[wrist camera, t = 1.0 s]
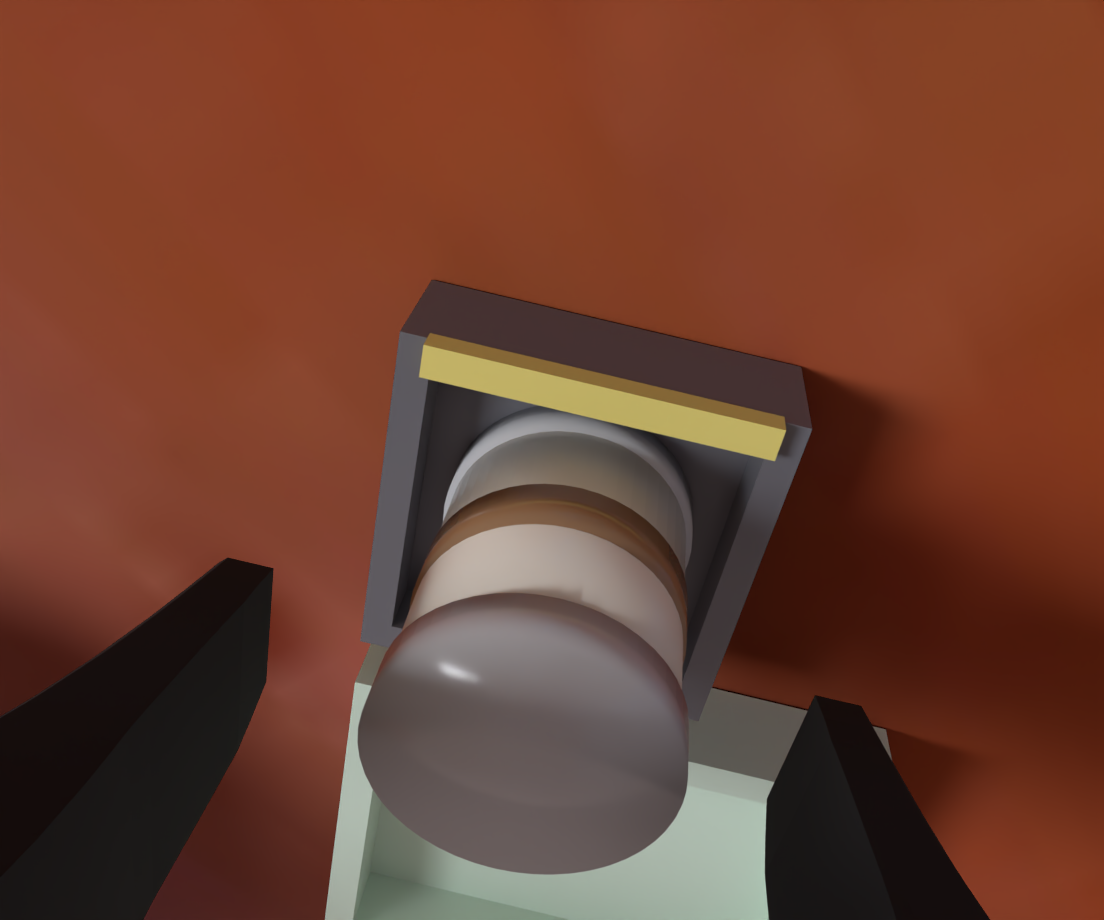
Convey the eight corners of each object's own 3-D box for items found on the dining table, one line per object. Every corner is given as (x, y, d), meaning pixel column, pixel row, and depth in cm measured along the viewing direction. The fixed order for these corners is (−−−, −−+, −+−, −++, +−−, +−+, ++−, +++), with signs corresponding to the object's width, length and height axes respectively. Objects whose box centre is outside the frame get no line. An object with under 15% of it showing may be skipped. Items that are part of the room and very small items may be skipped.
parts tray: (885, 728, 20) (902, 812, 18) (761, 962, 24) (765, 1047, 22) (384, 610, 20) (355, 681, 18) (348, 863, 24) (321, 941, 22)
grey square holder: (801, 365, 16) (814, 437, 14) (699, 644, 19) (698, 732, 17) (431, 279, 16) (395, 338, 14) (390, 570, 19) (356, 650, 18)
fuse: (722, 437, 16) (730, 687, 11) (658, 626, 18) (642, 903, 13) (471, 377, 16) (375, 602, 11) (437, 574, 18) (344, 832, 13)
